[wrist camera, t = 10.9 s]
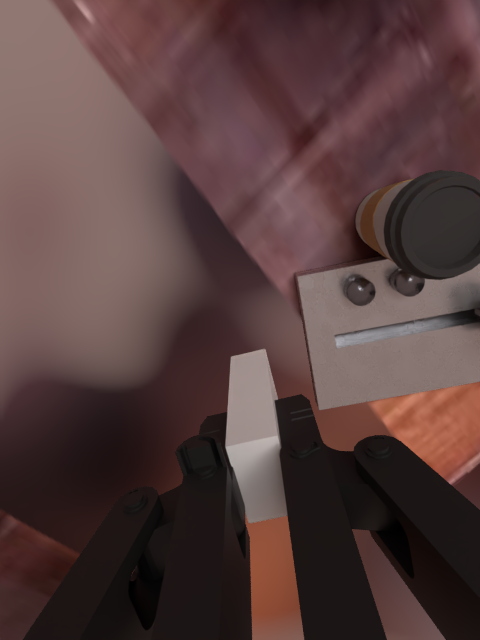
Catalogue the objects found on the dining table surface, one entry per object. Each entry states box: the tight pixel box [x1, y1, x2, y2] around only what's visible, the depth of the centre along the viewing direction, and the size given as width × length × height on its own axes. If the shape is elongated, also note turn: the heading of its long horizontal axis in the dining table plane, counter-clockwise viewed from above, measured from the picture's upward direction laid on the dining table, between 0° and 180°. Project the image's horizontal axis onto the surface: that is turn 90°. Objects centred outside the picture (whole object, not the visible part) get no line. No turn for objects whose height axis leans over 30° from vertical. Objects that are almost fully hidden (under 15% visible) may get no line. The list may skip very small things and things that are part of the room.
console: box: [295, 255, 480, 410], centre depth 46 cm, size 16×28×4 cm, turn 101°
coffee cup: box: [355, 170, 480, 280], centre depth 38 cm, size 8×8×15 cm
